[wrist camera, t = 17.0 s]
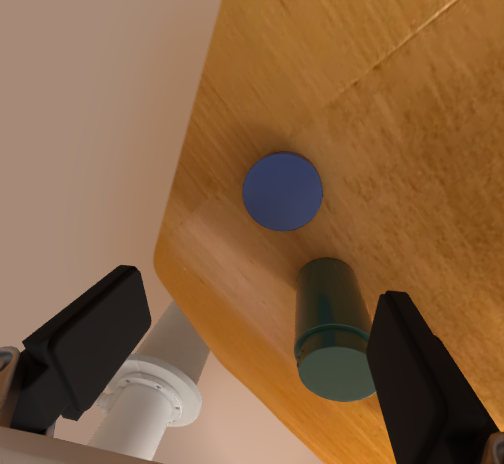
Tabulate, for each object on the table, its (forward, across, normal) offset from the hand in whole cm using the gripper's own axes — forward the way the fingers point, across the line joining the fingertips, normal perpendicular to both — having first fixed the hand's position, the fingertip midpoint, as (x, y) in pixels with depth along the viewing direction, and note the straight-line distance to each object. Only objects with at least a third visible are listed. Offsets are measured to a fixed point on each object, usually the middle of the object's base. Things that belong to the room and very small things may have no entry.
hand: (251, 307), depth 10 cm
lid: (+14, 0, -1) cm, 14 cm away
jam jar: (+15, -5, +9) cm, 18 cm away
